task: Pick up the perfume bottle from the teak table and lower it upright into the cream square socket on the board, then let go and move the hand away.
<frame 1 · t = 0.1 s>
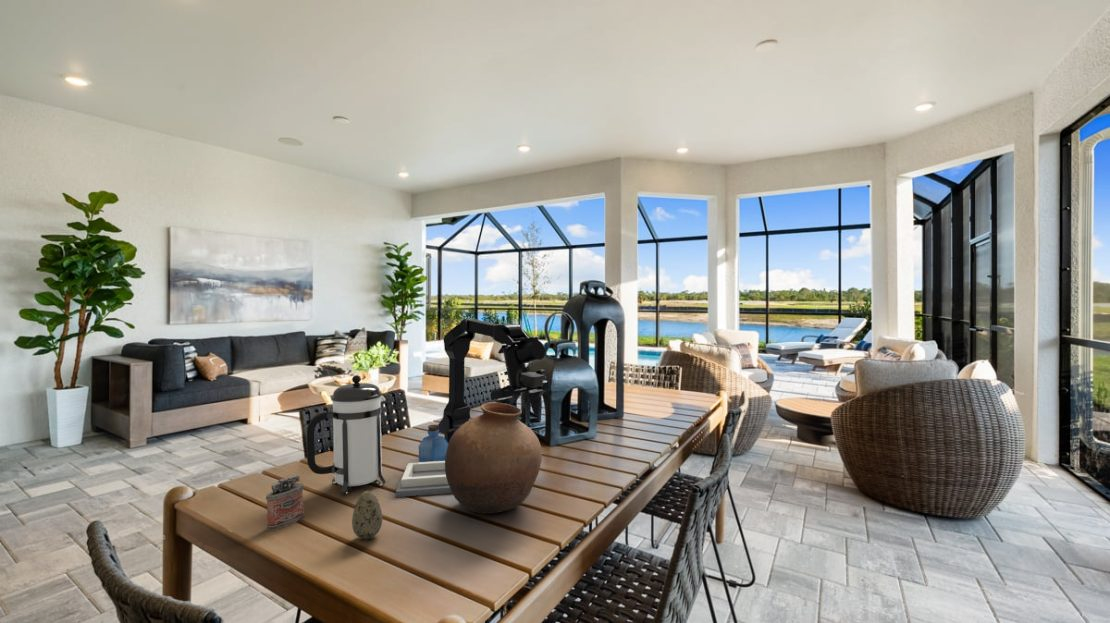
hand: (525, 419, 140), 15 cm above the table, tool pointing down, fingers open, 9 cm apart
socket board: (429, 481, 133), on the table
perfume bottle: (434, 465, 147), on the table
coffee press: (354, 486, 131), on the table
pottery: (494, 508, 116), on the table
decorative egg: (367, 538, 102), on the table
lighter: (286, 523, 110), on the table
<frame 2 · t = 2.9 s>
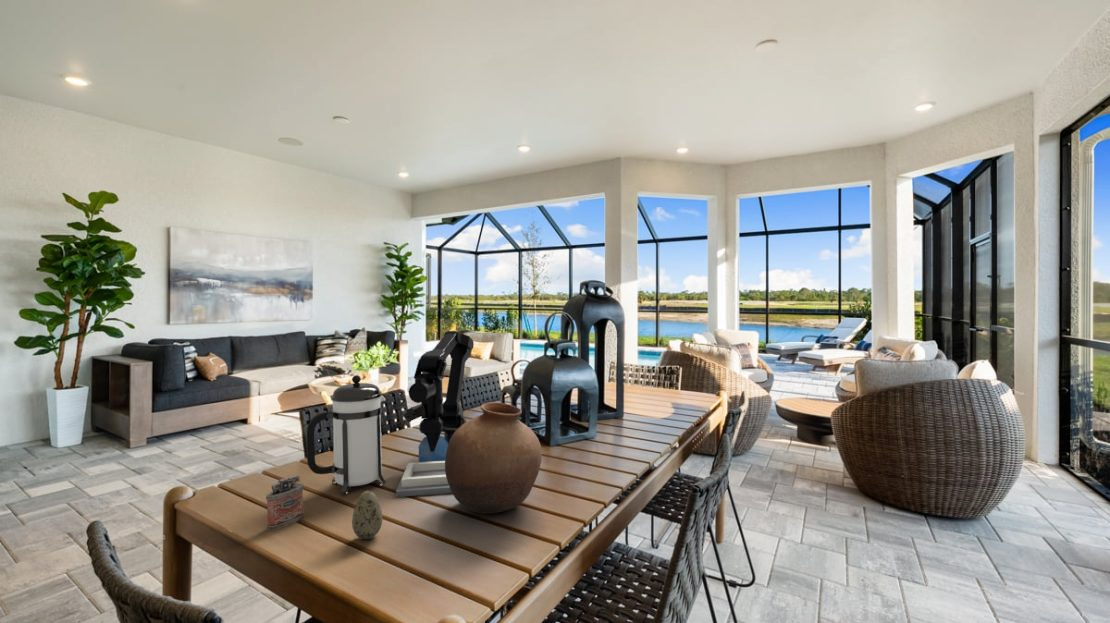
hand: (433, 446, 147), 6 cm above the table, tool pointing down, fingers closed on perfume bottle, 9 cm apart
perfume bottle: (434, 465, 147), on the table, touching gripper
everything else where it was.
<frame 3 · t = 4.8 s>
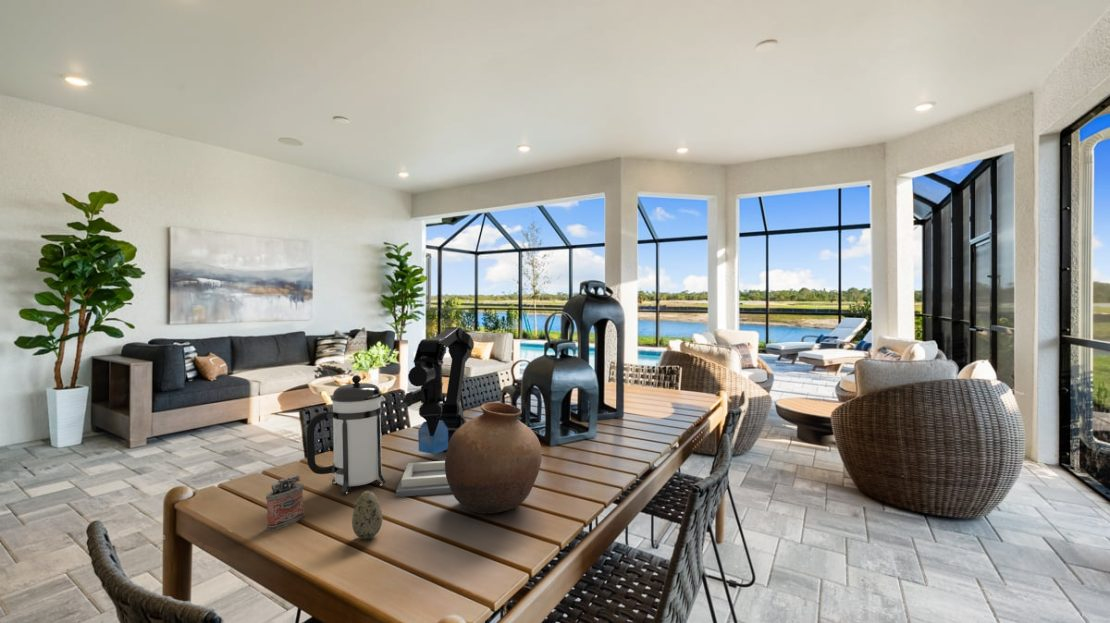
hand: (433, 431, 147), 10 cm above the table, tool pointing down, fingers closed on perfume bottle, 9 cm apart
perfume bottle: (433, 450, 147), point 4 cm above the table, touching gripper
everything else where it was.
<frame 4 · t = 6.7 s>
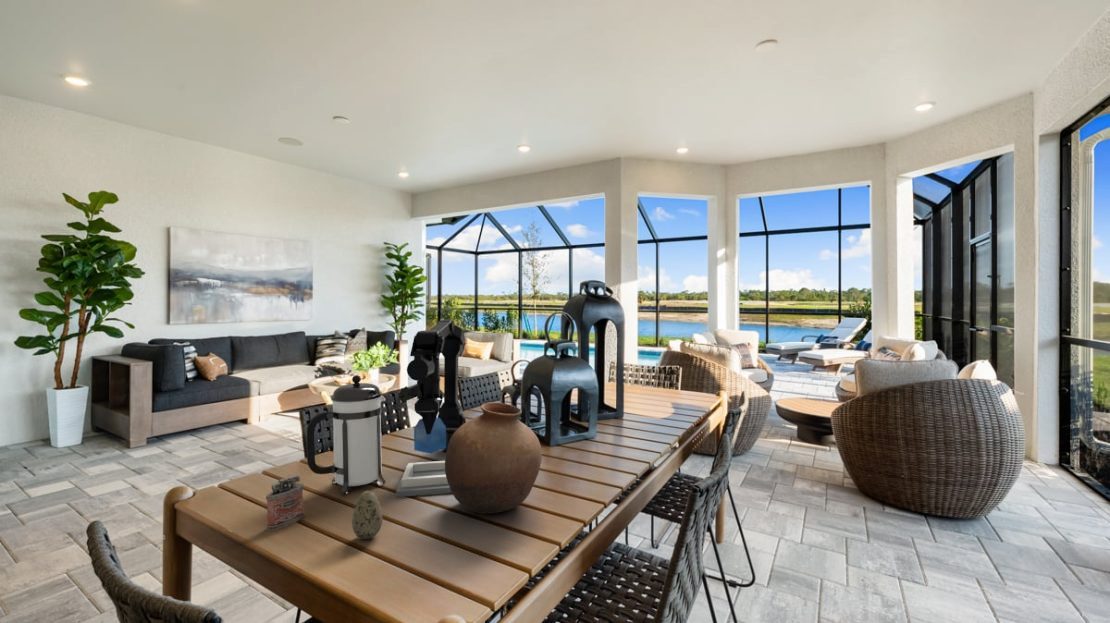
hand: (430, 429, 137), 13 cm above the table, tool pointing down, fingers closed on perfume bottle, 9 cm apart
perfume bottle: (430, 449, 138), point 8 cm above the table, touching gripper
everything else where it was.
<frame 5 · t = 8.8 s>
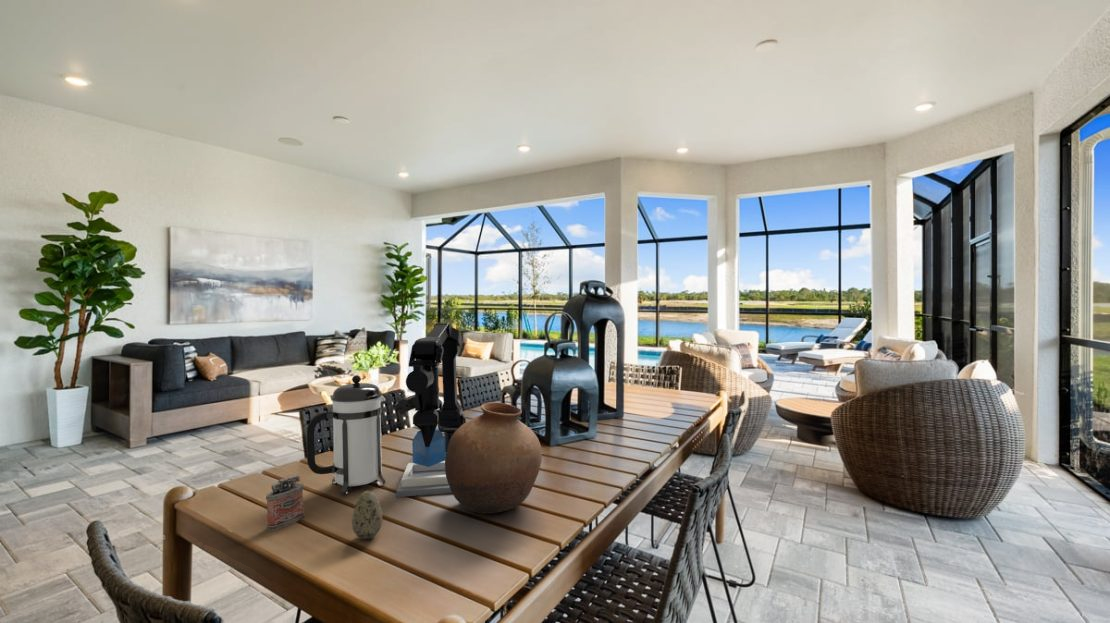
hand: (429, 441, 133), 11 cm above the table, tool pointing down, fingers closed on perfume bottle, 9 cm apart
perfume bottle: (429, 462, 133), point 5 cm above the table, touching gripper
everything else where it was.
when the fingers open (8 cm above the table, at t = 10.6 s): perfume bottle drops 1 cm, resting on socket board.
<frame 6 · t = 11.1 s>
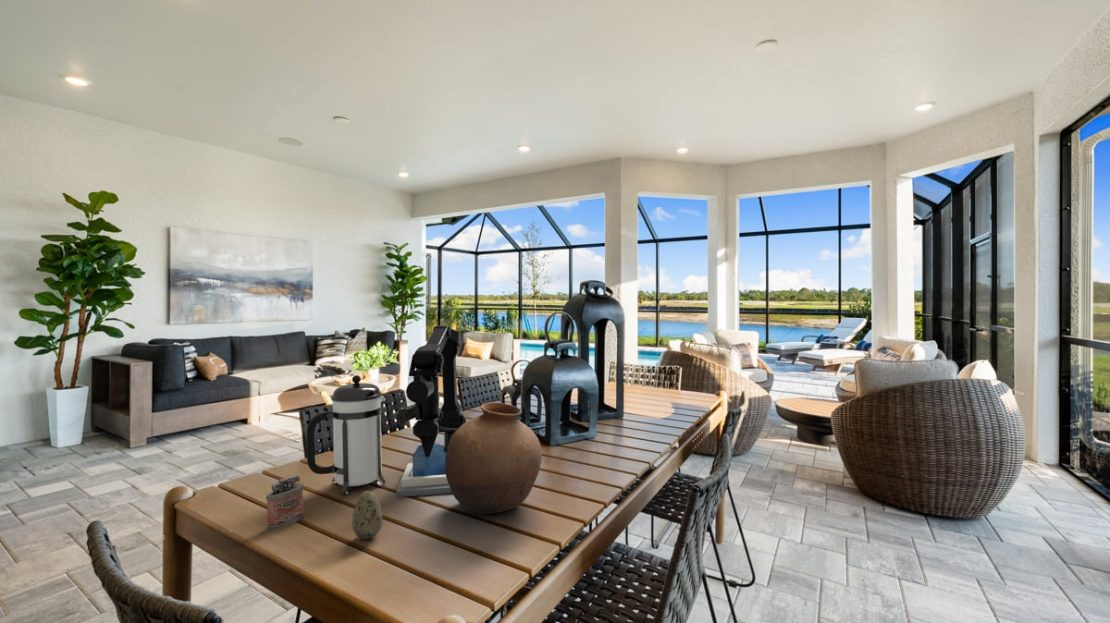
hand: (429, 451, 133), 8 cm above the table, tool pointing down, fingers open, 9 cm apart
perfume bottle: (429, 477, 133), point 1 cm above the table, touching socket board
everything else where it was.
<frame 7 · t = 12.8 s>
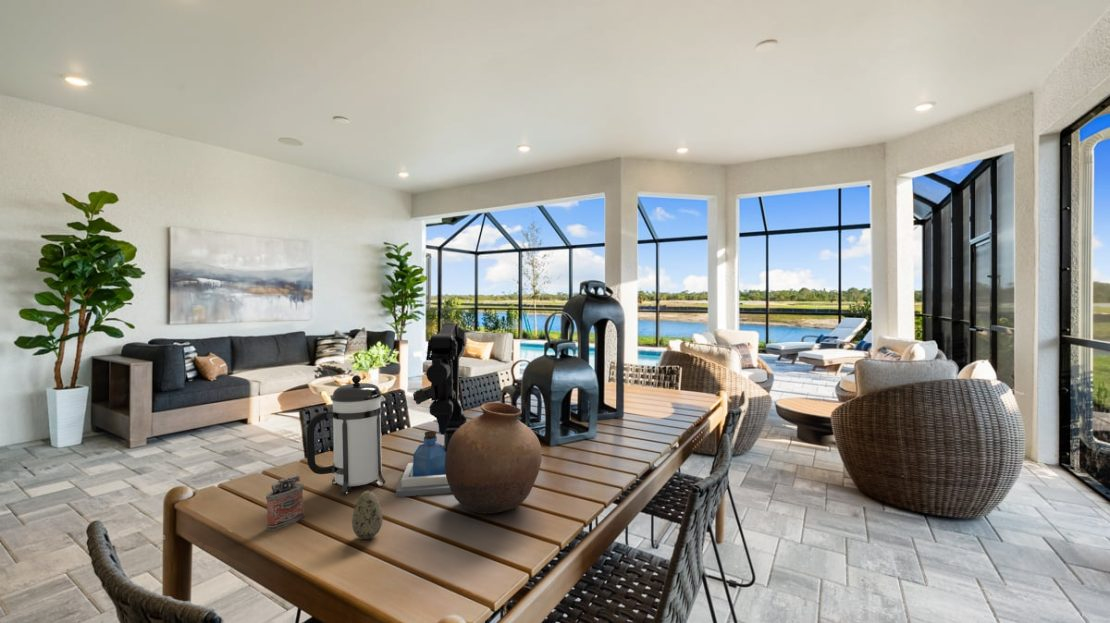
hand: (443, 429, 143), 12 cm above the table, tool pointing down, fingers open, 9 cm apart
nothing on the table moved.
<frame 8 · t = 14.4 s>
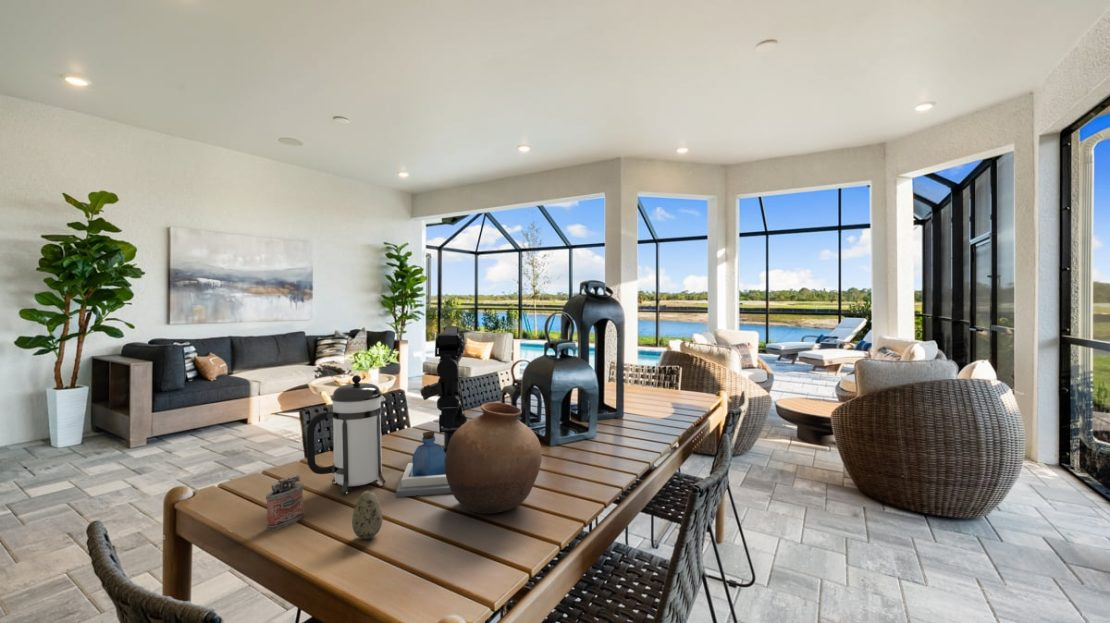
hand: (450, 424, 148), 12 cm above the table, tool pointing down, fingers open, 9 cm apart
nothing on the table moved.
at the end: perfume bottle 0.2 cm off-centre on the socket board, point 1.3 cm above the socket board's base; perfume bottle tilted 0°; the gripper is holding nothing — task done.
